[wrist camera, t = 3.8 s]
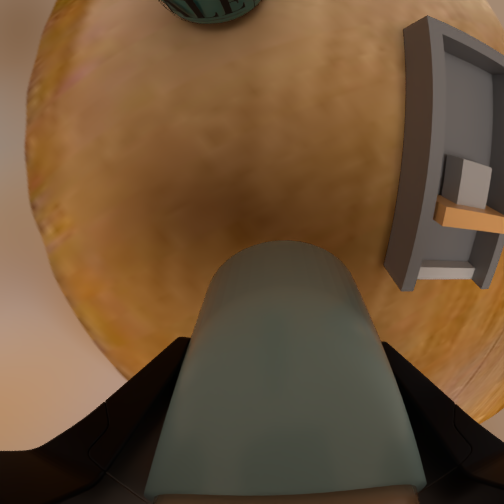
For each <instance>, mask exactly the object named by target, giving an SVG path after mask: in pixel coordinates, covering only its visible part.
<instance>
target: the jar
mask: <svg viewBox="0 0 504 504" xmlns="http://www.w3.org/2000/svg"><path fill="white" fill-rule="evenodd" d="M426 484H427V482H426V478H425V474H424V470H423V466H422V462H421V458H420V455H419V451H418V447H417V444H416V440H415V437H414V434H413V430H412V427H411V424H410V421H409V417H408V414H407V411H406V408H405V405H404V402H403V399H402V396H401V393H400V391H399V388H398V385H397V382H396V379H395V377H394V374H393V371H392V369H391V366H390V363H389V361H388V358H387V356H386V353H385V350H384V348H383V345H382V343H381V341H380V338H379V336H378V333H377V331H376V328H375V326H374V324H373V321H372V319H371V317H370V314H369V312H368V310H367V308H366V305H365V303H364V301H363V299H362V296H361V294H360V292H359V290H358V288H357V285H356V283H355V281H354V279H353V277H352V275H351V273H350V272H349V270H348V269H347V267H346V266H345V265H344V264H343V263H342V262H341V261H340V260H339V259H338V258H337V257H335V256H334V255H333V254H331V253H330V252H328V251H326V250H324V249H322V248H320V247H317V246H315V245H312V244H308V243H304V242H299V241H289V240H285V241H271V242H265V243H261V244H257V245H254V246H251V247H249V248H246V249H244V250H242V251H240V252H239V253H237V254H235V255H234V256H232V257H231V258H230V259H228V260H227V261H226V262H225V263H224V264H223V265H222V266H221V267H220V268H219V269H218V271H217V272H216V273H215V275H214V276H213V278H212V280H211V282H210V284H209V287H208V290H207V293H206V295H205V298H204V301H203V304H202V307H201V310H200V313H199V316H198V319H197V322H196V324H195V327H194V330H193V333H192V336H191V339H190V342H189V345H188V348H187V351H186V354H185V358H184V361H183V364H182V367H181V370H180V373H179V376H178V379H177V382H176V385H175V389H174V392H173V395H172V398H171V401H170V405H169V408H168V411H167V414H166V418H165V421H164V424H163V428H162V431H161V434H160V438H159V441H158V445H157V448H156V451H155V455H154V458H153V462H152V465H151V469H150V473H149V476H148V480H147V483H146V487H145V491H144V496H145V498H146V499H147V500H149V501H150V502H152V503H153V504H420V502H419V497H418V492H419V491H421V490H422V489H423V488H424V487H425V486H426Z"/></svg>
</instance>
